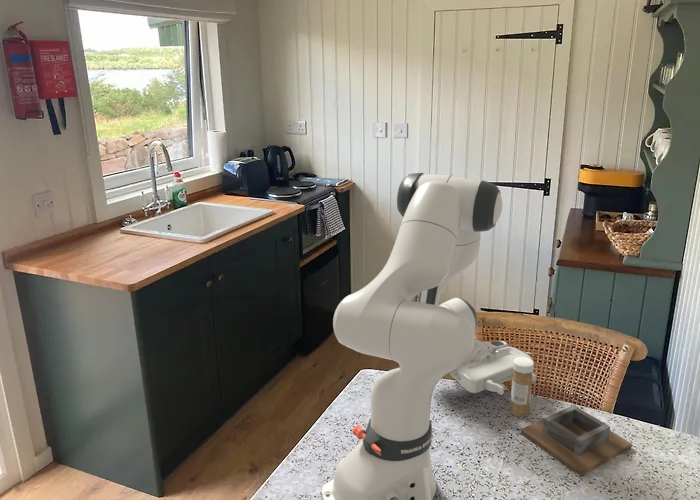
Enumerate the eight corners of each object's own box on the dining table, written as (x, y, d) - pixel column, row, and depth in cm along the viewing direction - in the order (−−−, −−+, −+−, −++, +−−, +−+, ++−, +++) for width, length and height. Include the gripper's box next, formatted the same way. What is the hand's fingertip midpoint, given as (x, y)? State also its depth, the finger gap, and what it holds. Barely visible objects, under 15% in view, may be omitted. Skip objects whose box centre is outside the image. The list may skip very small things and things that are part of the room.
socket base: (580, 476, 113) (583, 456, 112) (520, 433, 126) (521, 415, 125) (631, 448, 121) (634, 429, 120) (569, 411, 134) (571, 393, 133)
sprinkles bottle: (533, 411, 134) (538, 361, 130) (522, 420, 131) (527, 368, 127) (515, 404, 137) (519, 354, 133) (505, 411, 134) (509, 361, 130)
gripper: (446, 360, 138) (487, 386, 126) (508, 339, 148) (550, 361, 136) (445, 383, 140) (485, 410, 128) (506, 360, 150) (548, 384, 138)
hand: (519, 385), depth 132 cm, fingers open, 8 cm apart
